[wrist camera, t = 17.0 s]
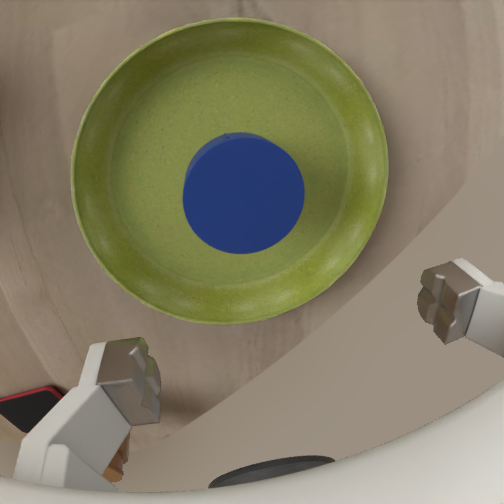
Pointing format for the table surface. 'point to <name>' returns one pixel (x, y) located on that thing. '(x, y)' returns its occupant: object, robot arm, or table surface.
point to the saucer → (204, 130)
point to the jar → (118, 462)
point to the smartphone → (29, 407)
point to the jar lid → (242, 193)
